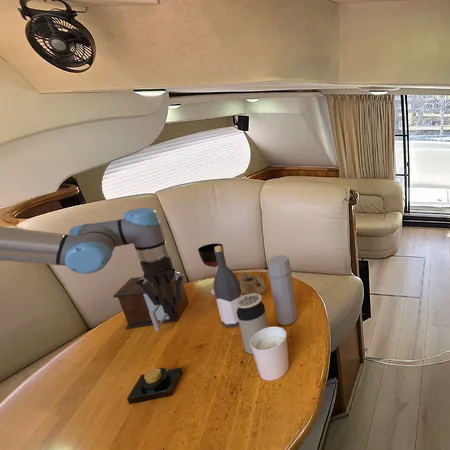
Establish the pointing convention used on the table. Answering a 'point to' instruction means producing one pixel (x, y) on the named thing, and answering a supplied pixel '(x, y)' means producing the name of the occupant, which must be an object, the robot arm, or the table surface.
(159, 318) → the glass door
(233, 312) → the wine bottle
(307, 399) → the table surface
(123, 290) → the cabinet
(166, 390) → the button block
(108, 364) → the table surface
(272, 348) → the candle holder
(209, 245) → the wineglass
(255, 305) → the travel mug
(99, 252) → the robot arm
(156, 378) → the button
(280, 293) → the water bottle
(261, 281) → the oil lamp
